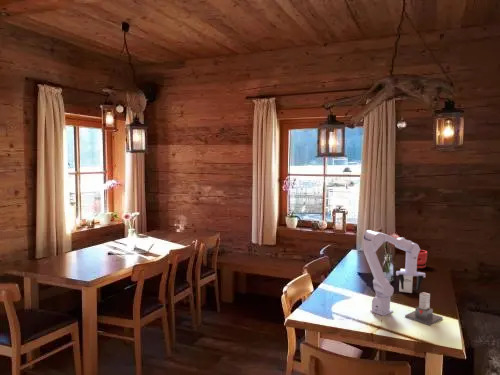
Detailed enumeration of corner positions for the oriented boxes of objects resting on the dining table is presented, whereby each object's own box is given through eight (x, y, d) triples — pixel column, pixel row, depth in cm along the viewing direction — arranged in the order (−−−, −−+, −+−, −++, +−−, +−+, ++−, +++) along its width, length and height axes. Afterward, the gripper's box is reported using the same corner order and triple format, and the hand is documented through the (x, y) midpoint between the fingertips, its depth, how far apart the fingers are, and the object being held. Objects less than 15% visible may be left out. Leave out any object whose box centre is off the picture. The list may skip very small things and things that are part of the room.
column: (425, 312, 207) (426, 295, 206) (418, 310, 210) (419, 293, 209) (429, 310, 209) (430, 293, 209) (422, 308, 212) (423, 291, 211)
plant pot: (429, 267, 303) (430, 251, 302) (421, 270, 294) (421, 253, 293) (413, 263, 313) (413, 247, 312) (404, 266, 304) (404, 250, 303)
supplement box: (399, 291, 249) (399, 271, 248) (399, 288, 256) (400, 268, 255) (412, 293, 246) (413, 272, 245) (412, 289, 253) (413, 269, 252)
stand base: (429, 325, 201) (430, 315, 200) (405, 317, 211) (405, 307, 210) (442, 318, 209) (443, 309, 209) (418, 311, 219) (418, 301, 219)
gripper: (398, 265, 219) (396, 290, 220) (427, 267, 216) (425, 292, 217) (396, 262, 226) (395, 286, 227) (424, 263, 223) (423, 288, 224)
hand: (409, 289), depth 223 cm, fingers open, 7 cm apart
